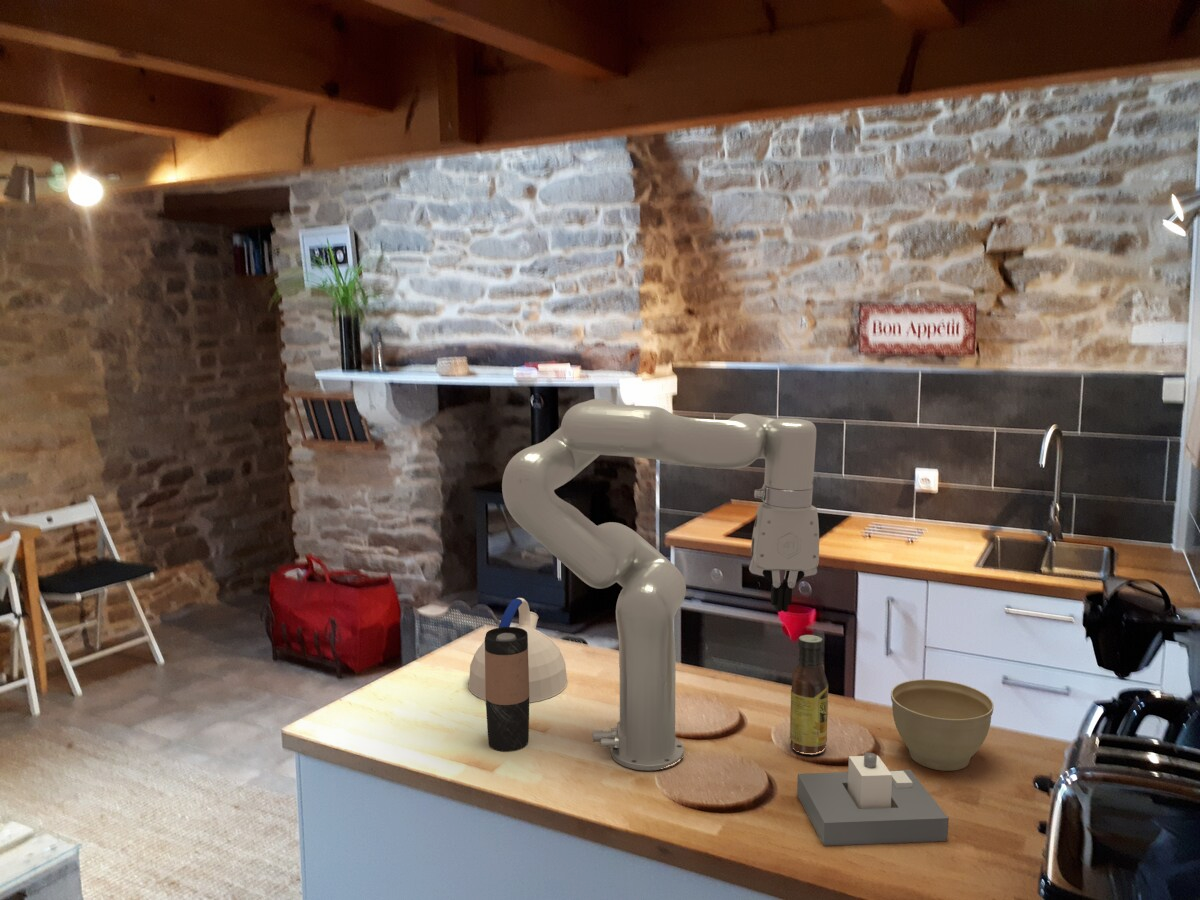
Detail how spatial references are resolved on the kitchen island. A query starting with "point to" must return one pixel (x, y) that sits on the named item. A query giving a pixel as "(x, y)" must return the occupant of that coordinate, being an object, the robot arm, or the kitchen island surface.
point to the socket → (871, 811)
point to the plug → (869, 782)
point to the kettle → (542, 658)
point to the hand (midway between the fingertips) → (780, 609)
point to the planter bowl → (941, 721)
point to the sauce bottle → (809, 698)
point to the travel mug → (507, 688)
